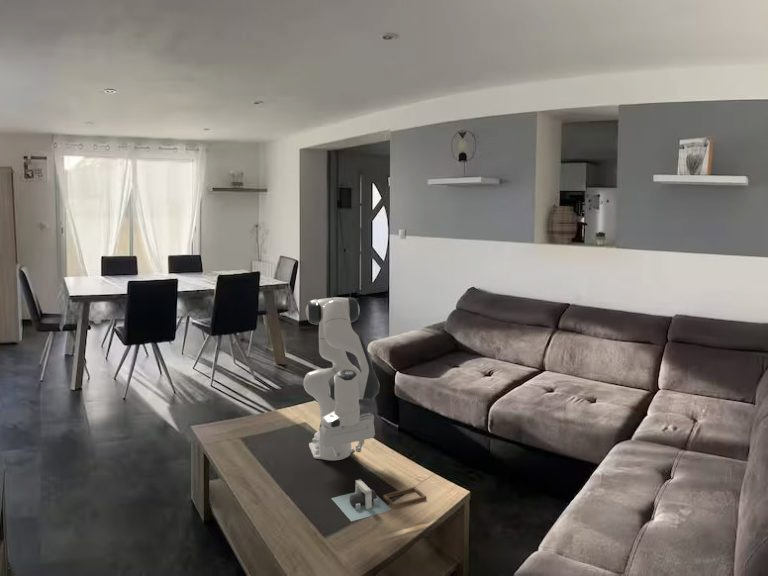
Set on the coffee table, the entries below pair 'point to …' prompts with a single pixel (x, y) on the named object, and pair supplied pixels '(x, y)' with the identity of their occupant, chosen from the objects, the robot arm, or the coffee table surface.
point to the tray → (421, 498)
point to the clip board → (359, 507)
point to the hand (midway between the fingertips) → (347, 453)
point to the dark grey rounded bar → (360, 498)
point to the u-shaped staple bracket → (368, 492)
